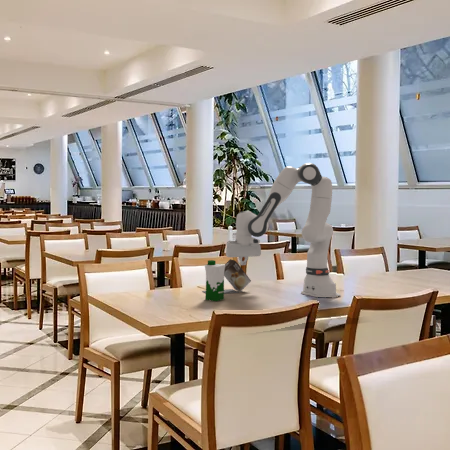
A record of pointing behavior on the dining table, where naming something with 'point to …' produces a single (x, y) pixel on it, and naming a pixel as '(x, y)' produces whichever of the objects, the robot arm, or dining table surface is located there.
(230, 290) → the mat
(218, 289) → the milk carton
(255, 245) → the robot arm
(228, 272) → the coffee box
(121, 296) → the dining table surface
